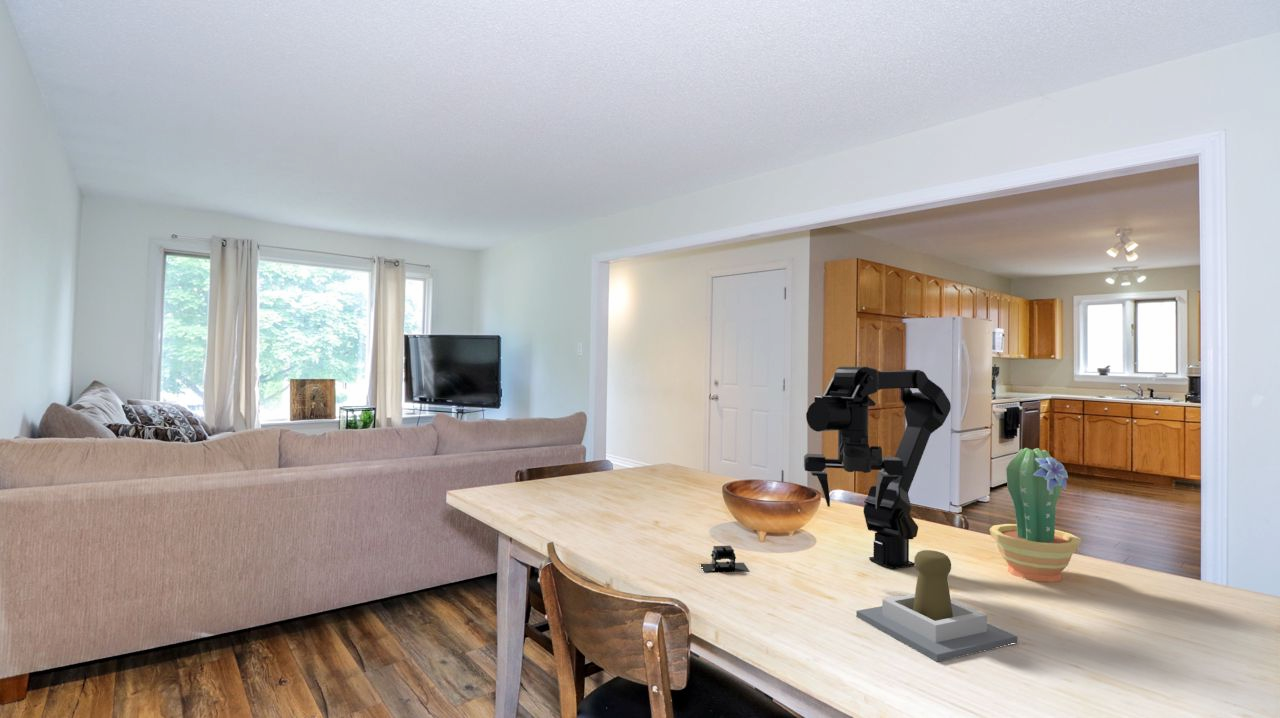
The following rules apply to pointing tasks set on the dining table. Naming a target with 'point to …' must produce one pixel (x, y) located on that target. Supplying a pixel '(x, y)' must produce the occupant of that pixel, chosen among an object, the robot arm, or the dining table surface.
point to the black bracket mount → (717, 567)
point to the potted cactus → (1035, 519)
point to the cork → (932, 585)
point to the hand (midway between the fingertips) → (852, 507)
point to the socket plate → (936, 629)
